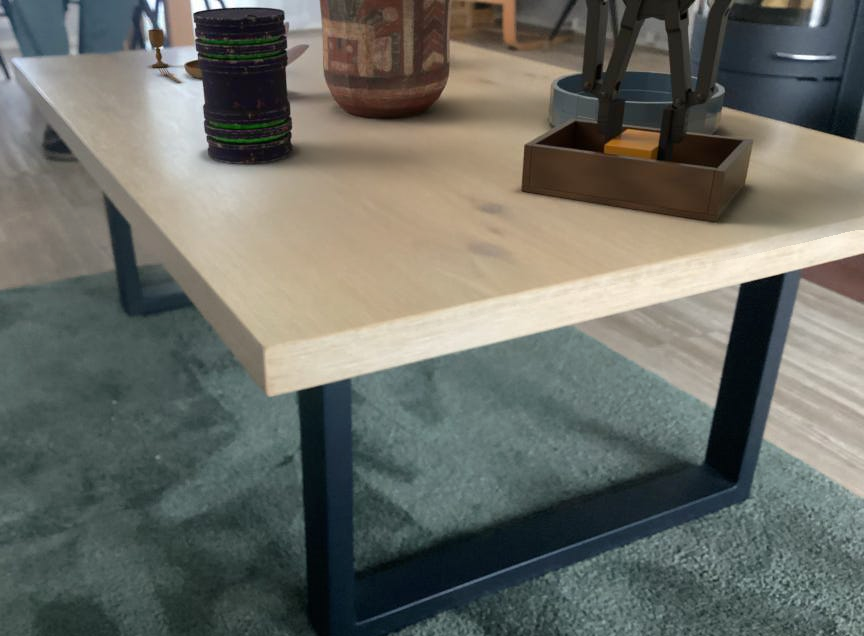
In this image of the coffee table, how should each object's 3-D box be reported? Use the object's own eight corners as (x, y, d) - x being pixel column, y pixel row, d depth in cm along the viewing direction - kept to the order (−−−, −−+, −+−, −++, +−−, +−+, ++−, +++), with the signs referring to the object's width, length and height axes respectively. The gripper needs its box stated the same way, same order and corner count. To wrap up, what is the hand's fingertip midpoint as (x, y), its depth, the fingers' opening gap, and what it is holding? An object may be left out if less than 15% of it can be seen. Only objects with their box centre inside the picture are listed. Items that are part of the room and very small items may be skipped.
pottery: (433, 127, 108) (435, -30, 100) (303, 119, 113) (295, -32, 105) (464, 99, 123) (469, -40, 115) (348, 92, 128) (345, -41, 119)
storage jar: (193, 149, 100) (177, 11, 93) (269, 137, 105) (260, 5, 98) (229, 169, 93) (215, 21, 86) (309, 155, 98) (302, 13, 90)
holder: (744, 185, 86) (753, 139, 84) (715, 222, 76) (724, 171, 74) (567, 160, 94) (571, 118, 92) (520, 191, 85) (524, 144, 83)
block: (666, 174, 87) (672, 134, 85) (646, 192, 81) (652, 150, 79) (622, 168, 89) (627, 128, 87) (600, 185, 83) (604, 144, 82)
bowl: (733, 119, 111) (741, 78, 108) (693, 156, 96) (701, 110, 93) (581, 102, 120) (585, 65, 118) (522, 134, 105) (525, 92, 103)
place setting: (178, 85, 134) (173, 45, 131) (146, 66, 150) (141, 29, 147) (283, 75, 141) (281, 36, 138) (242, 57, 157) (240, 22, 154)
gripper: (557, -97, 75) (536, 168, 86) (771, -98, 67) (718, 195, 78) (587, -98, 80) (564, 151, 92) (788, -99, 72) (736, 174, 83)
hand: (635, 170), depth 85 cm, fingers closed on block, 4 cm apart
